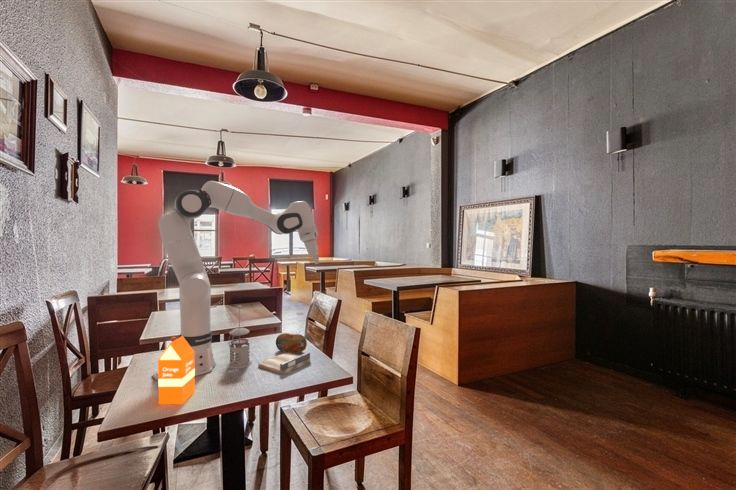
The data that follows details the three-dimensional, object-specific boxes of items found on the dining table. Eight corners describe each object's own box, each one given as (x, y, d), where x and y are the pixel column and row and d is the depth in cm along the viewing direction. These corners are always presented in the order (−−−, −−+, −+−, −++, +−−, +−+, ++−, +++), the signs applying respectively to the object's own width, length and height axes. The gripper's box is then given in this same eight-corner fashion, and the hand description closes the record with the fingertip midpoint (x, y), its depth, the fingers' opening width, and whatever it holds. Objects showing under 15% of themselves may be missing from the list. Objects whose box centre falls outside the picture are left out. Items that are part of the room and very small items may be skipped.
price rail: (282, 370, 138) (282, 364, 138) (280, 370, 138) (280, 364, 138) (310, 358, 151) (310, 352, 151) (307, 357, 152) (307, 352, 152)
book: (282, 374, 138) (282, 370, 138) (258, 367, 145) (258, 363, 145) (310, 361, 151) (310, 358, 151) (286, 355, 159) (286, 352, 159)
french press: (235, 370, 142) (235, 308, 140) (220, 363, 149) (219, 304, 148) (256, 363, 149) (256, 304, 148) (241, 357, 156) (240, 301, 155)
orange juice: (195, 392, 123) (194, 335, 122) (182, 404, 114) (181, 343, 113) (172, 392, 122) (171, 335, 121) (158, 405, 113) (157, 343, 113)
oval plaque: (275, 351, 165) (275, 333, 164) (279, 348, 168) (278, 331, 167) (304, 354, 160) (304, 336, 160) (307, 352, 163) (307, 334, 163)
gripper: (303, 233, 176) (311, 259, 179) (300, 239, 156) (310, 268, 159) (315, 229, 177) (323, 255, 179) (314, 235, 157) (323, 264, 159)
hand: (317, 261), depth 169 cm, fingers open, 8 cm apart
